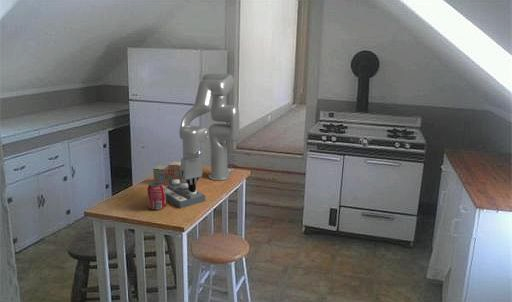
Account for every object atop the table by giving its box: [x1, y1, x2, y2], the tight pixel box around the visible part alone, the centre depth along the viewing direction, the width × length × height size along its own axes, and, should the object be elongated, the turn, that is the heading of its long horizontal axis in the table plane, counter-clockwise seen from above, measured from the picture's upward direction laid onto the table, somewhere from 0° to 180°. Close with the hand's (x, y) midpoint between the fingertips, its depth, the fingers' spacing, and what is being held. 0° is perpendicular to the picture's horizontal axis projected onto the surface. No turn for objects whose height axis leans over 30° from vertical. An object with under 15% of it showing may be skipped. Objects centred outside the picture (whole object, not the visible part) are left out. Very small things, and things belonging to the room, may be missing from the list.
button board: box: [165, 183, 206, 209], centre depth 198 cm, size 14×23×5 cm, turn 41°
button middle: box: [180, 183, 188, 189], centre depth 199 cm, size 4×4×2 cm
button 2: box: [188, 189, 198, 195], centre depth 193 cm, size 4×4×2 cm
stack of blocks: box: [152, 160, 189, 187], centre depth 218 cm, size 21×6×12 cm, turn 77°
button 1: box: [172, 179, 180, 185], centre depth 204 cm, size 4×4×2 cm
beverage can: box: [147, 181, 167, 211], centre depth 185 cm, size 8×8×12 cm
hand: (192, 191), depth 193 cm, fingers closed
